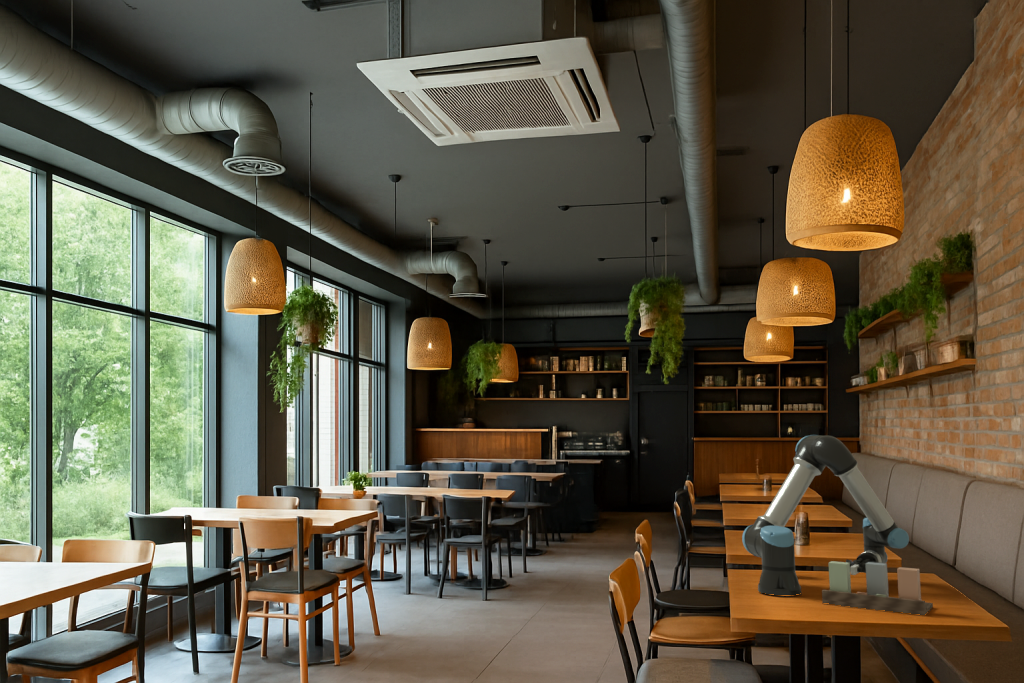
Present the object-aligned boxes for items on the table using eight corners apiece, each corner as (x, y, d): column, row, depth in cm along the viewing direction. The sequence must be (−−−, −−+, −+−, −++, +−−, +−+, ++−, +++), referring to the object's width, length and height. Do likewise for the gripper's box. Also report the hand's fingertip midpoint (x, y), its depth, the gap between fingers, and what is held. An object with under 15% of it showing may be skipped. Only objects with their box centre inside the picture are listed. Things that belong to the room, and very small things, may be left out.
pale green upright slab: (830, 598, 280) (828, 562, 282) (833, 596, 284) (831, 561, 285) (848, 600, 277) (846, 564, 278) (851, 598, 280) (849, 562, 281)
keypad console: (822, 603, 280) (821, 588, 280) (833, 596, 291) (833, 581, 291) (924, 616, 261) (924, 599, 261) (932, 607, 272) (931, 592, 273)
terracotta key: (899, 606, 267) (897, 569, 269) (901, 603, 271) (899, 567, 272) (919, 608, 264) (917, 570, 265) (921, 606, 267) (919, 568, 268)
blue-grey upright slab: (867, 599, 278) (865, 563, 279) (870, 597, 281) (868, 562, 282) (886, 601, 274) (884, 565, 275) (888, 599, 277) (886, 563, 279)
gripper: (887, 573, 306) (872, 583, 288) (851, 570, 314) (834, 579, 295) (886, 553, 307) (871, 562, 288) (850, 550, 315) (833, 558, 296)
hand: (852, 571), depth 292 cm, fingers closed
